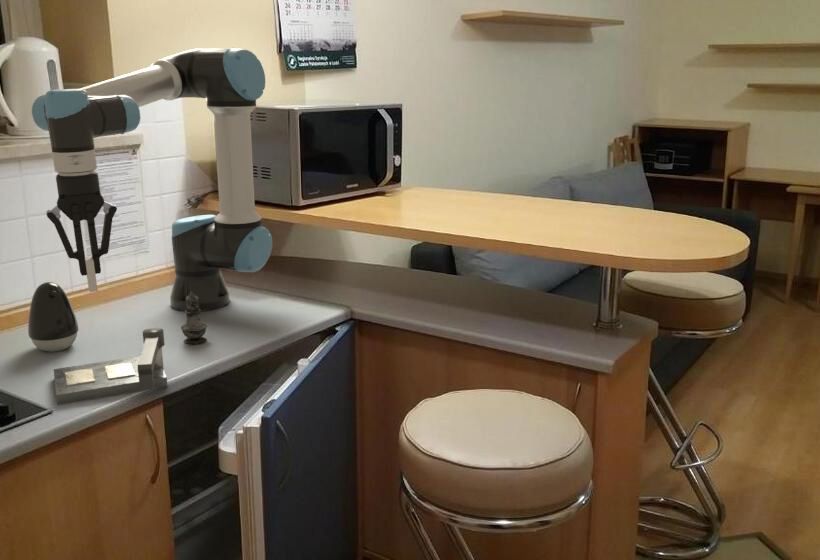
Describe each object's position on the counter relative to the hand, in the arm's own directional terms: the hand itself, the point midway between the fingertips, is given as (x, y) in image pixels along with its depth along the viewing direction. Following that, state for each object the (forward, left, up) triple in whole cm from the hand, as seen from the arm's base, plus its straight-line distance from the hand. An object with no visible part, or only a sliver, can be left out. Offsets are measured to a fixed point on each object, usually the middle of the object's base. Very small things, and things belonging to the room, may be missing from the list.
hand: (93, 289), depth 158 cm
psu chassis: (-1, +6, -18) cm, 19 cm away
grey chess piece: (-21, -11, -18) cm, 30 cm away
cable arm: (-8, +13, -14) cm, 21 cm away
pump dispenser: (+8, -20, -18) cm, 28 cm away
